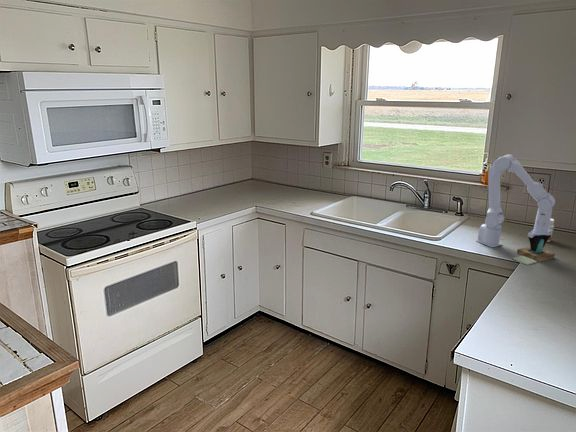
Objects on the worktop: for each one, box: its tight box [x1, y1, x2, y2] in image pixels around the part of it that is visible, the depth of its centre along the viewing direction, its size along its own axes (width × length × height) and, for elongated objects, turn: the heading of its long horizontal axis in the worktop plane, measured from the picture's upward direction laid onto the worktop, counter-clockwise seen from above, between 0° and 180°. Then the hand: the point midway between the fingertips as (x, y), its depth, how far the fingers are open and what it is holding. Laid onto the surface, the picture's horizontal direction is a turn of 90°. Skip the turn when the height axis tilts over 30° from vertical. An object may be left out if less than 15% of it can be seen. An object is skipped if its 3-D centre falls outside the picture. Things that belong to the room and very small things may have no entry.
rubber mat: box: [512, 255, 538, 266], centre depth 198 cm, size 7×7×1 cm
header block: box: [516, 245, 556, 263], centre depth 204 cm, size 11×11×2 cm
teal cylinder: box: [531, 239, 544, 254], centre depth 203 cm, size 4×4×8 cm
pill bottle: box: [546, 217, 555, 243], centre depth 222 cm, size 6×6×11 cm
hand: (536, 249), depth 204 cm, fingers closed on teal cylinder, 4 cm apart
